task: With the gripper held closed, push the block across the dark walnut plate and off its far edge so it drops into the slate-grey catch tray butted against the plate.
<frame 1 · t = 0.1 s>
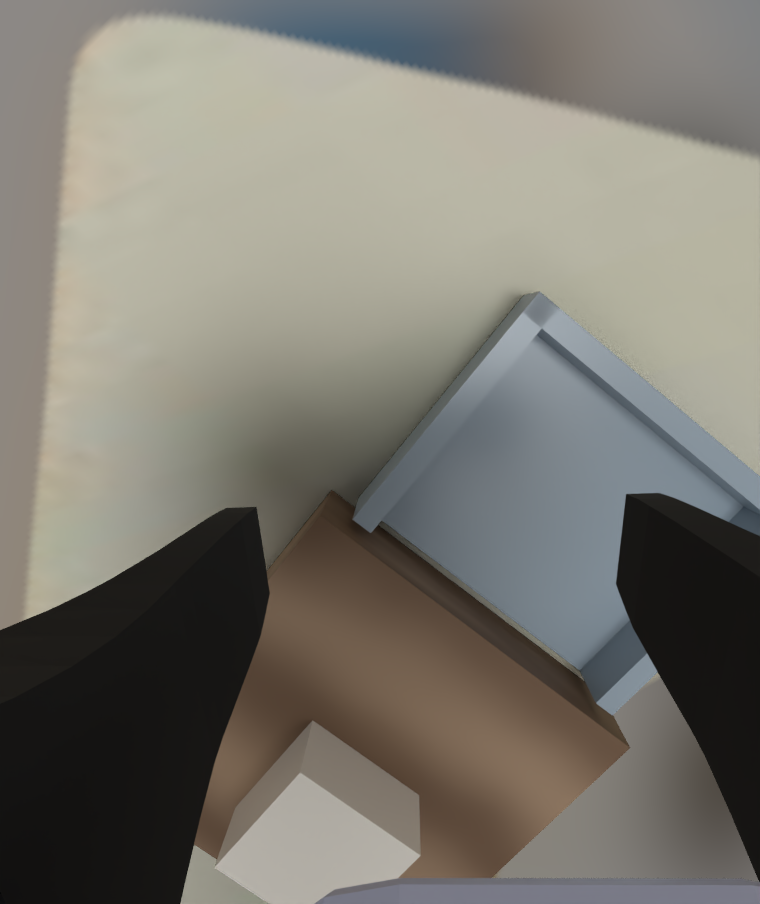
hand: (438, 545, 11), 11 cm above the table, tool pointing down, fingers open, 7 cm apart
catch tray: (559, 498, 22), on the table
walnut plate: (364, 713, 24), on the table
block: (326, 801, 22), point 3 cm above the table, touching walnut plate
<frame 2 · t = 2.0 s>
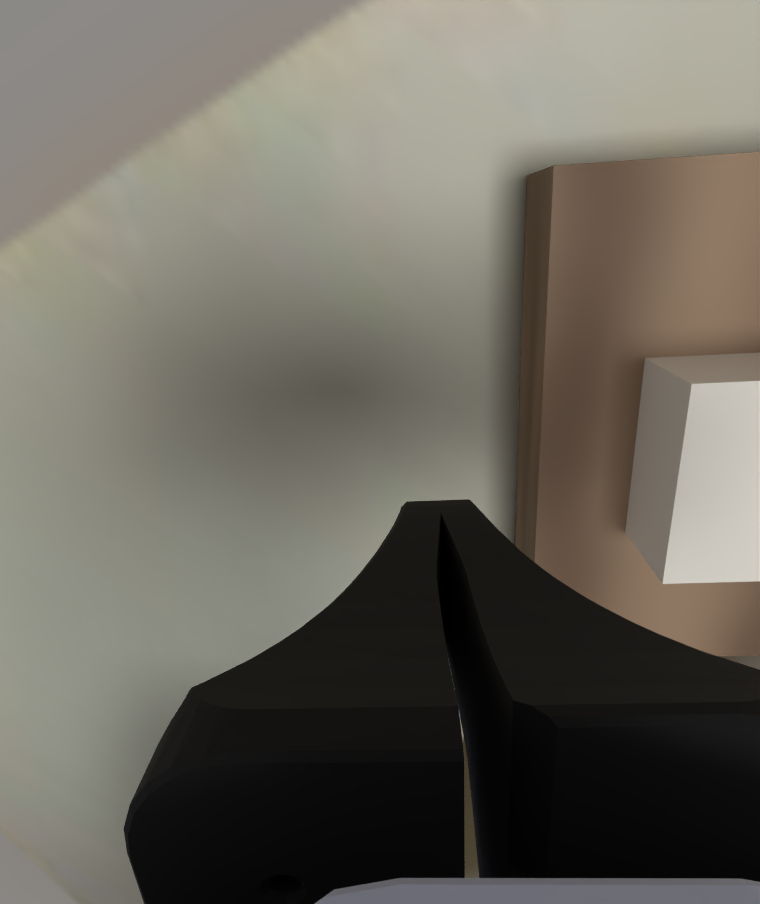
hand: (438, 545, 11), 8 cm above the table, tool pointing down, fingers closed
walnut plate: (745, 409, 18), on the table
block: (731, 446, 15), point 3 cm above the table, touching walnut plate
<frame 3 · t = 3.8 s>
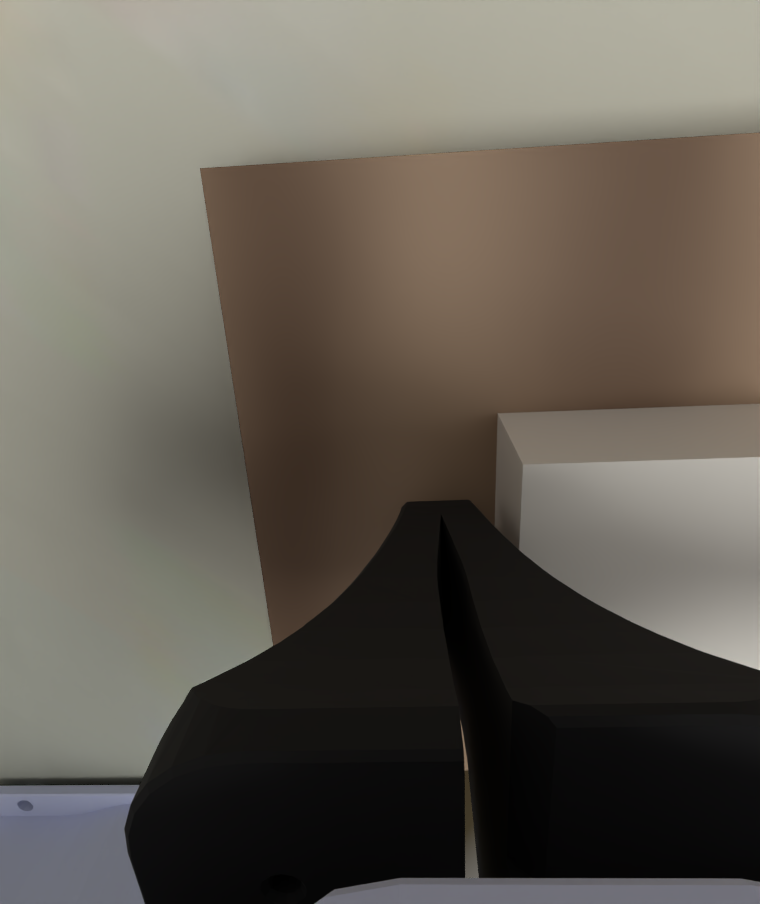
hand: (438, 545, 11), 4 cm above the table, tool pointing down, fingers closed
walnut plate: (555, 466, 15), on the table
block: (617, 524, 12), point 3 cm above the table, touching gripper, walnut plate
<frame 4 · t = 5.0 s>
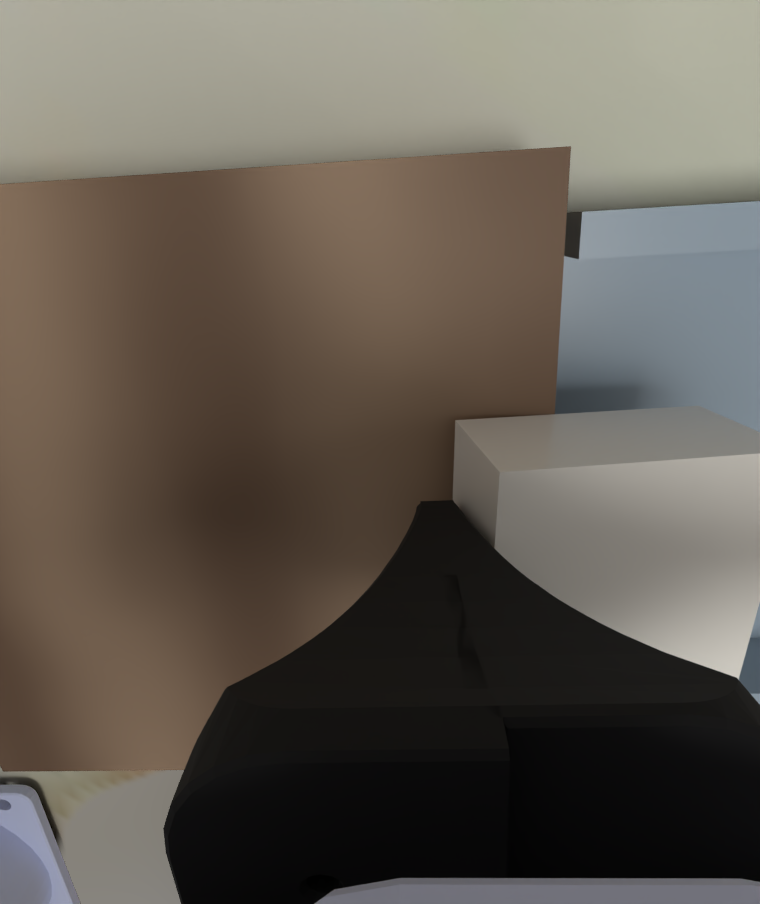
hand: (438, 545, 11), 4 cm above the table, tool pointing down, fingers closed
catch tray: (728, 459, 14), on the table
walnut plate: (252, 476, 15), on the table
block: (566, 526, 12), point 3 cm above the table, tilted 10°, touching gripper, walnut plate
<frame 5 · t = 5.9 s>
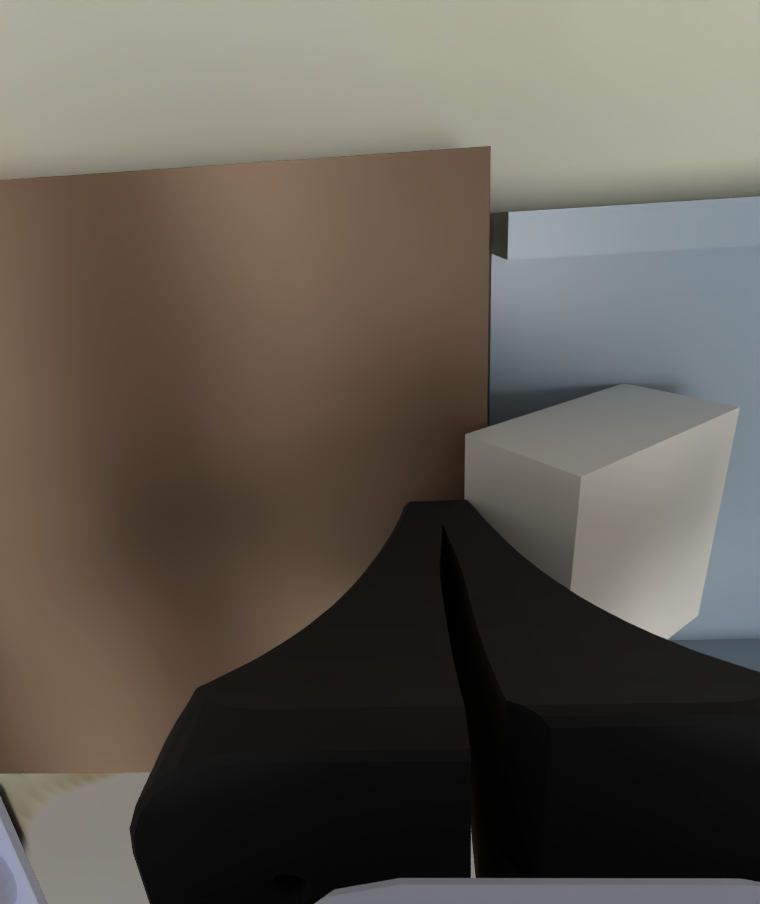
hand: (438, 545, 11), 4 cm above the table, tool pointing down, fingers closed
catch tray: (678, 460, 14), on the table
walnut plate: (201, 478, 15), on the table
block: (545, 513, 13), point 2 cm above the table, tilted 38°, touching catch tray, gripper
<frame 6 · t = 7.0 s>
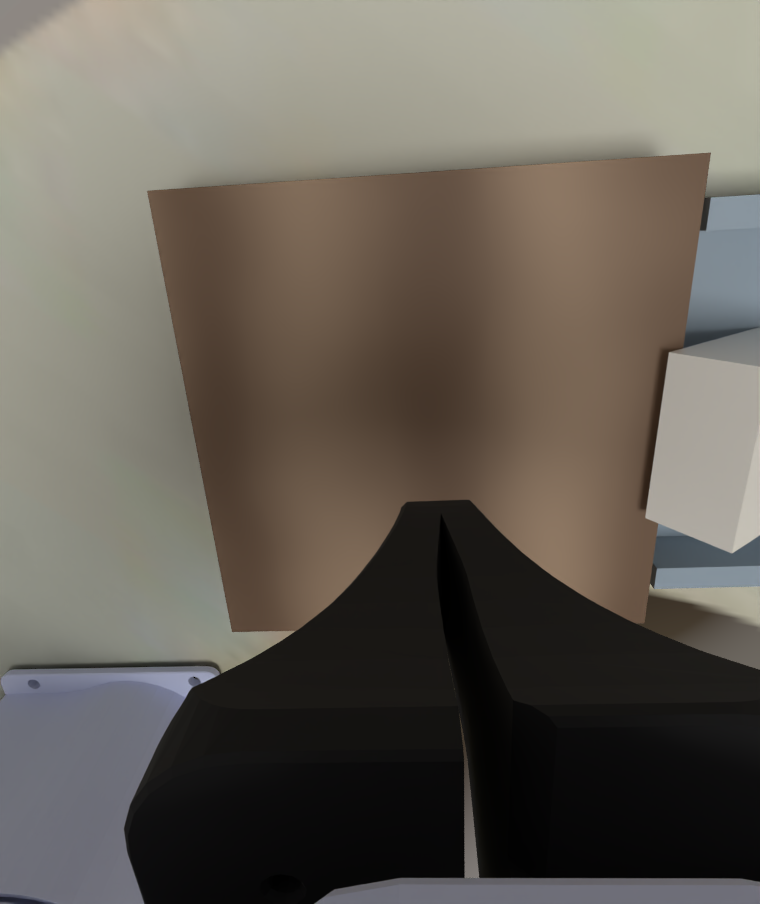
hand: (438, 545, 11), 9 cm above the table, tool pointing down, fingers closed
walnut plate: (424, 404, 20), on the table
block: (704, 420, 17), point 2 cm above the table, tilted 36°, touching catch tray, walnut plate
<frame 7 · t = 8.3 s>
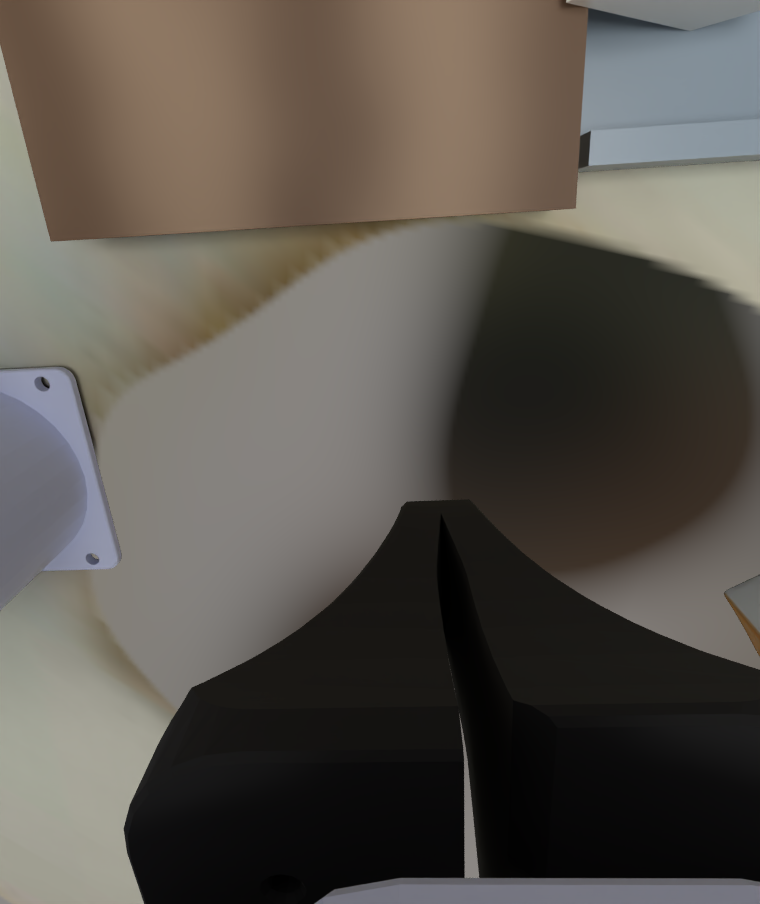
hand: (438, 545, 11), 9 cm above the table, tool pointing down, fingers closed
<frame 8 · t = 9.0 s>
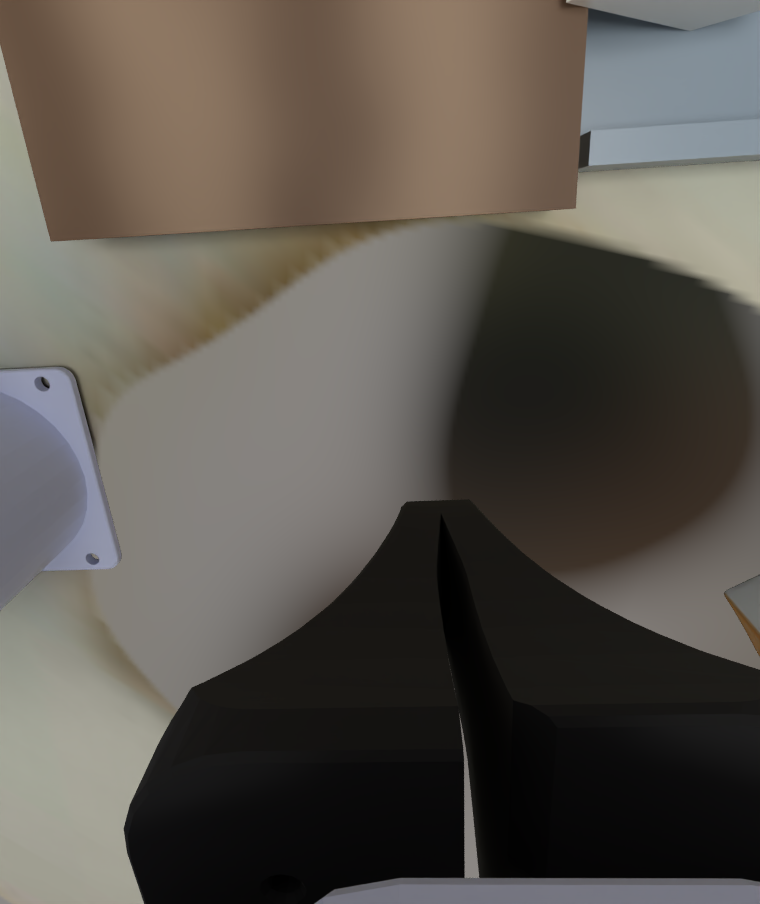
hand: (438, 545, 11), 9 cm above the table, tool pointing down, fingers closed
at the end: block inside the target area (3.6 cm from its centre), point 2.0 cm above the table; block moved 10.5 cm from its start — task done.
